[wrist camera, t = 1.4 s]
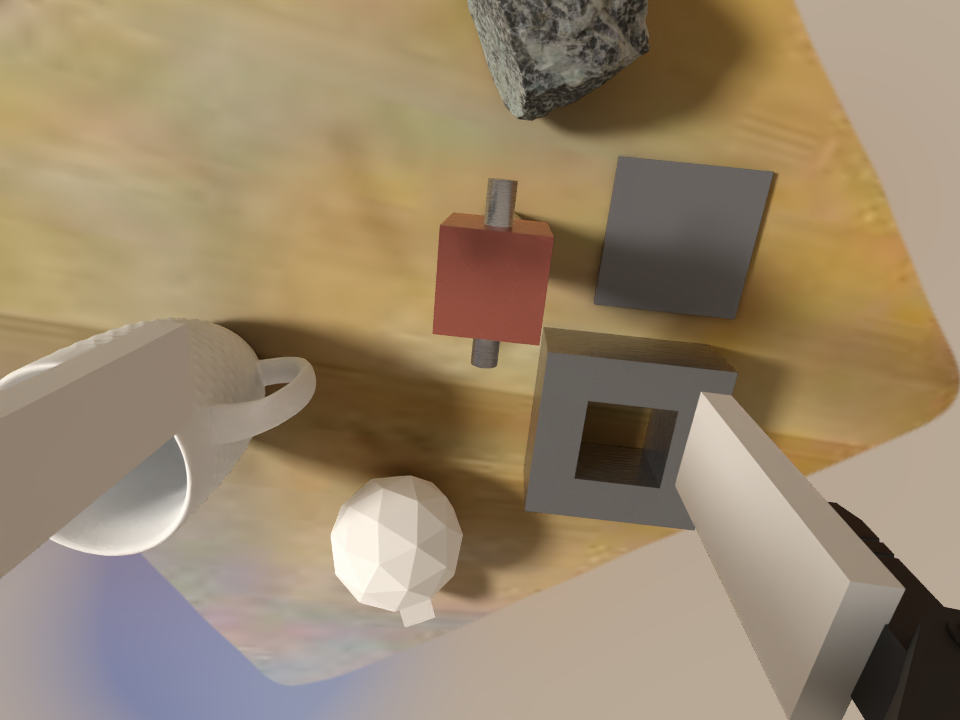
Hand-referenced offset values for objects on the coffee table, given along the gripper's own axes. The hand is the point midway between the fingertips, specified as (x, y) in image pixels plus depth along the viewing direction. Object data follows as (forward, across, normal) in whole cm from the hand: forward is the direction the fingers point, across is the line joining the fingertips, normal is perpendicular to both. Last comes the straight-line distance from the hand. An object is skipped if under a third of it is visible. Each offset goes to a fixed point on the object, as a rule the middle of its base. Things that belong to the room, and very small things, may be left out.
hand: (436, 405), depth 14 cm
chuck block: (+23, +10, -10) cm, 27 cm away
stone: (+23, +2, +13) cm, 27 cm away
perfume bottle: (+23, -4, -21) cm, 31 cm away
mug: (+23, -17, -10) cm, 30 cm away
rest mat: (+23, +12, +2) cm, 26 cm away
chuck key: (+23, +1, +1) cm, 23 cm away
